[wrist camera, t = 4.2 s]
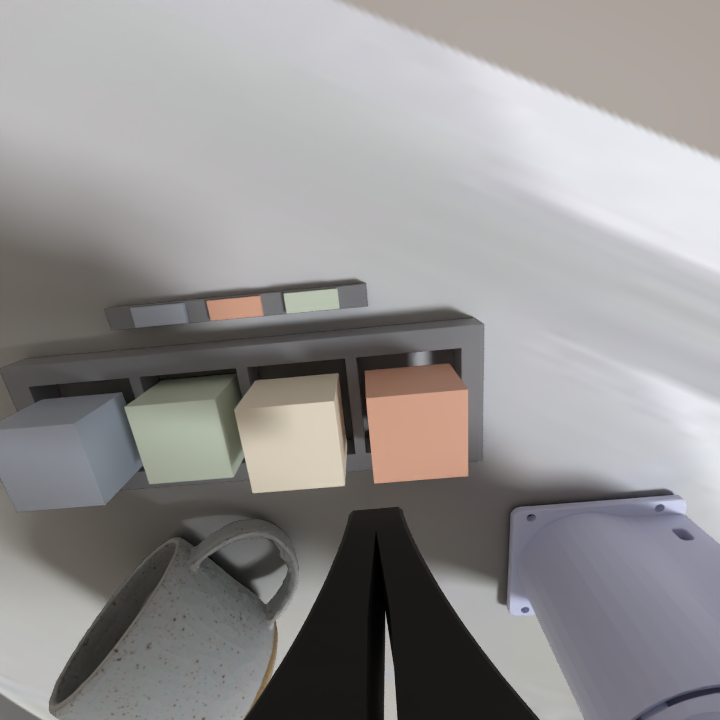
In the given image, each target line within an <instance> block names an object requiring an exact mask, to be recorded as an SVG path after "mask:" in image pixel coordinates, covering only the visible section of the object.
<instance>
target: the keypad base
mask: <svg viewBox="0 0 720 720" xmlns="http://www.w3.org/2000/svg"><path fill="white" fill-rule="evenodd" d="M445 349H454V370H455V372H456V373H457V375H458V376H459V377H460V379H461V380H462V382H463V383H464V384H465V386H466V387H467V389H468V462H478V461H482V457H483V380H484V324H483V323H482V322H480V321H479V320H477V319H476V318H465V319H454V320H443V321H432V322H421V323H410V324H400V325H389V326H378V327H367V328H356V329H345V330H334V331H324V332H313V333H302V334H291V335H280V336H269V337H258V338H248V339H237V340H226V341H215V342H204V343H193V344H182V345H172V346H161V347H150V348H139V349H128V350H117V351H107V352H96V353H85V354H74V355H63V356H52V357H41V358H31V359H24V360H21V361H18V362H16V363H13V364H10V365H7V366H5V367H2V368H0V373H1V375H2V377H3V379H4V382H5V384H6V386H7V389H8V391H9V393H10V396H11V398H12V400H13V403H14V405H15V407H16V410H17V412H18V411H20V410H22V409H24V408H26V407H28V406H30V405H32V404H34V403H36V402H38V401H40V400H42V399H52V398H61V397H60V395H59V392H58V389H57V387H56V384H66V383H77V382H89V381H100V380H111V379H122V378H129V381H130V384H131V387H132V390H133V394H134V397H135V399H136V398H137V397H139V396H140V395H142V394H143V393H144V392H146V391H147V390H149V389H150V388H151V387H153V386H154V385H156V384H157V383H158V382H160V381H159V378H158V375H166V374H178V373H189V372H200V371H211V370H222V369H233V368H236V371H237V376H238V381H239V386H240V390H241V395H242V398H243V397H244V395H245V394H246V393H247V391H248V390H249V389H250V387H251V386H252V385H253V383H254V382H255V380H259V376H258V371H257V366H267V365H278V364H289V363H300V362H311V361H322V360H333V359H345V364H346V373H347V382H348V390H349V399H350V408H351V417H352V426H353V435H354V440H347V459H346V472H354V471H367V470H373V465H372V455H371V445H370V438H366V439H365V430H364V421H363V411H362V401H361V391H360V381H359V371H358V361H357V357H367V356H378V355H389V354H400V353H411V352H423V351H434V350H445ZM243 480H250V479H249V474H248V470H247V465H246V461H245V457H244V458H243V460H242V462H241V464H240V466H239V468H238V470H237V472H236V474H235V476H234V477H232V478H220V479H208V480H195V481H183V482H171V483H158V484H149V481H148V478H147V475H146V472H145V469H144V466H142V467H141V468H140V469H139V470H138V471H137V472H136V473H135V474H134V475H133V476H132V478H131V479H130V480H129V481H128V482H127V483H126V484H125V485H124V486H123V487H122V488H121V489H120V490H132V489H144V488H157V487H169V486H181V485H194V484H206V483H218V482H231V481H243ZM120 490H119V491H120Z"/></svg>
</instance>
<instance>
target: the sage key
mask: <svg viewBox="0 0 720 720" xmlns="http://www.w3.org/2000/svg"><path fill="white" fill-rule="evenodd" d="M241 400H242V395H241V390H240V386H239V381H238V376H237V374H226V375H215V376H204V377H193V378H182V379H170V380H161V381H160V382H158V383H157V384H156V385H154V386H153V387H151V388H150V389H149V390H147V391H146V392H144V393H143V394H142V395H140V396H139V397H137V398H136V399H135V400H133V401H132V402H131V403H129V404H128V405H126V406H125V407H124V408H125V411H126V414H127V417H128V420H129V423H130V426H131V429H132V433H133V436H134V439H135V442H136V445H137V448H138V451H139V454H140V457H141V460H142V463H143V466H144V469H145V472H146V475H147V478H148V481H149V484H158V483H171V482H183V481H195V480H208V479H220V478H232V477H234V476H235V474H236V472H237V470H238V468H239V466H240V464H241V462H242V460H243V458H244V457H245V456H244V452H243V447H242V443H241V439H240V434H239V430H238V425H237V421H236V416H235V412H234V409H235V408H236V406H237V405H238V404H239V402H240V401H241Z"/></svg>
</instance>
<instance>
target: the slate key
mask: <svg viewBox="0 0 720 720" xmlns="http://www.w3.org/2000/svg"><path fill="white" fill-rule="evenodd" d="M125 406H126V402H125V399H124V396H123V393H122V392H120V393H109V394H97V395H86V396H75V397H63V398H52V399H42V400H40V401H38V402H36V403H34V404H32V405H30V406H28V407H26V408H24V409H22V410H20V411H18V412H16V413H14V414H12V415H10V416H9V417H7V418H5V419H3V420H1V421H0V479H1V481H2V483H3V485H4V487H5V489H6V491H7V493H8V495H9V497H10V500H11V502H12V504H13V506H14V508H15V510H16V512H25V511H38V510H50V509H63V508H75V507H88V506H100V505H106V504H107V503H108V502H109V501H110V500H111V499H112V497H113V496H114V495H115V494H116V493H117V492H118V491H119V490H120V489H121V488H122V487H123V486H124V485H125V484H126V483H127V482H128V481H129V480H130V479H131V478H132V476H133V475H134V474H135V473H136V472H137V471H138V470H139V469H140V468H141V467H142V466H143V463H142V460H141V457H140V454H139V451H138V448H137V445H136V442H135V439H134V436H133V433H132V429H131V426H130V423H129V420H128V417H127V414H126V411H125V408H124V407H125Z"/></svg>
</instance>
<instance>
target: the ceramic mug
mask: <svg viewBox="0 0 720 720" xmlns="http://www.w3.org/2000/svg"><path fill="white" fill-rule="evenodd" d="M258 537H260V538H268V539H271V540H272V541H273V542H274V543H275V544H276V546H277V548H278V549H279V551H280V558H282V559H283V560H284V561H285V562H286V564H287V567H288V572H287V575H286V578H285V579H284V580H283V584H282V586H281V587H280V588H279V590H278V591H277V593H276V594H275V596H274V597H273V598H272V599H271V600H270V602H268V603H267V604H264V603H263V602H262V601H261V599H260V598H259V597H258V596H256V595H255V594H254V593H252V592H251V591H250V590H249V589H247V588H246V587H244V586H243V585H242V584H240V583H239V582H238V581H236V580H235V579H234V578H232V577H231V576H230V575H228V574H227V573H226V572H225V571H224V570H223V569H222V568H220V567H219V566H218V565H217V564H215V563H214V562H213V561H212V560H211V559H209V558H208V557H207V556H209V555H211V554H213V553H214V552H215V551H217V550H219V549H220V548H222V547H224V546H226V545H228V544H230V543H231V542H234V541H238V540H242V539H247V538H250V539H253V538H258ZM298 572H299V567H298V561H297V557H296V554H295V550H294V547H293V544H292V542H291V540H290V539H289V537H288V536H287V535H286V534H285V533H284V532H283V531H282V530H281V529H280V528H278V527H277V526H275V525H274V524H272V523H270V522H268V521H264V520H260V519H247V520H240V521H236V522H233V523H230V524H228V525H226V526H224V527H223V528H221V529H219V530H218V531H216V532H214V533H213V534H211V535H210V536H209V537H207V538H206V539H204V540H203V541H202V542H201V543H200V544H199V545H197V546H195V547H194V546H193V545H191V544H190V543H189V542H187V541H186V540H184V539H183V538H180V537H173V538H171V539H169V540H168V541H166V542H165V543H164V544H162V545H160V546H159V547H158V548H156V549H155V550H154V551H153V552H152V553H151V554H150V555H149V556H148V557H147V558H145V559H144V560H143V562H142V563H141V564H140V565H139V566H138V567H137V568H136V569H135V570H134V571H133V573H132V574H131V575H130V576H129V577H128V578H127V579H126V580H125V581H124V582H123V584H122V585H121V586H120V587H119V589H118V590H117V591H116V592H115V594H114V595H113V596H112V597H111V598H110V599H109V601H108V602H107V604H106V605H105V607H104V608H103V610H102V611H101V612H100V613H99V615H98V616H97V617H96V619H95V620H94V622H93V623H92V625H91V626H90V628H89V629H88V630H87V632H86V633H85V635H84V637H83V638H82V639H81V641H80V642H79V644H78V646H77V648H76V649H75V651H74V652H73V654H72V655H71V657H70V659H69V660H68V662H67V664H66V666H65V667H64V669H63V671H62V673H61V674H60V676H59V678H58V680H57V682H56V684H55V686H54V689H53V692H52V695H51V697H50V701H49V711H50V713H51V714H52V715H53V716H55V717H56V718H57V719H60V720H244V719H245V717H246V716H247V714H248V713H249V711H250V710H251V709H252V707H253V706H254V704H255V703H256V701H257V700H258V698H259V697H260V695H261V694H262V692H263V691H264V689H265V687H266V686H267V684H268V683H269V681H270V678H271V675H272V672H273V668H274V664H275V660H276V653H277V642H278V633H277V626H276V620H277V619H278V618H279V617H280V616H281V614H282V613H283V612H284V611H285V610H286V608H287V606H288V605H289V603H290V602H291V600H292V598H293V595H294V593H295V591H296V588H297V584H298Z"/></svg>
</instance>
